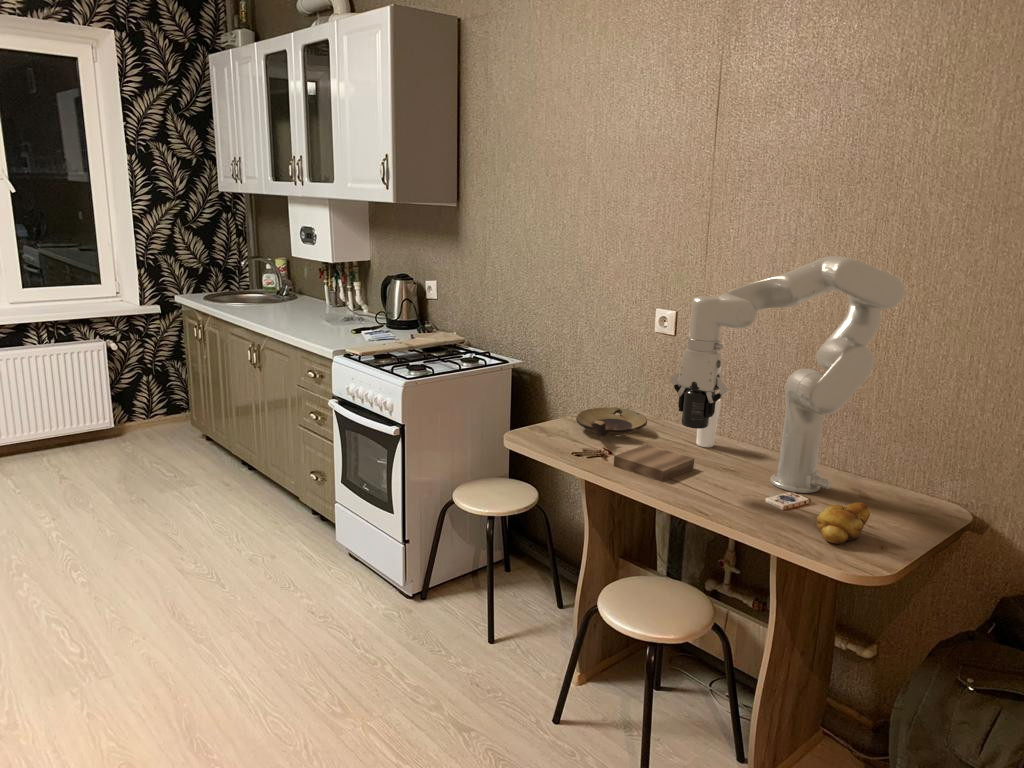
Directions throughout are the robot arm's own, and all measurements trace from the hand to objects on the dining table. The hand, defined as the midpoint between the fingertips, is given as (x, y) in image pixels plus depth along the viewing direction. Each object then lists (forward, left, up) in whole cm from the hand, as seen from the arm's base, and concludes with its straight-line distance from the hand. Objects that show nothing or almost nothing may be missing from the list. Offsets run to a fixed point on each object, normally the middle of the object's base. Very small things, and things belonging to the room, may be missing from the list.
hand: (695, 413), depth 194 cm
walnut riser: (+14, -5, -20) cm, 25 cm away
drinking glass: (+15, -35, -20) cm, 43 cm away
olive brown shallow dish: (+43, -21, -20) cm, 52 cm away
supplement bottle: (0, 0, -4) cm, 4 cm away
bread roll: (-40, +2, -20) cm, 44 cm away
